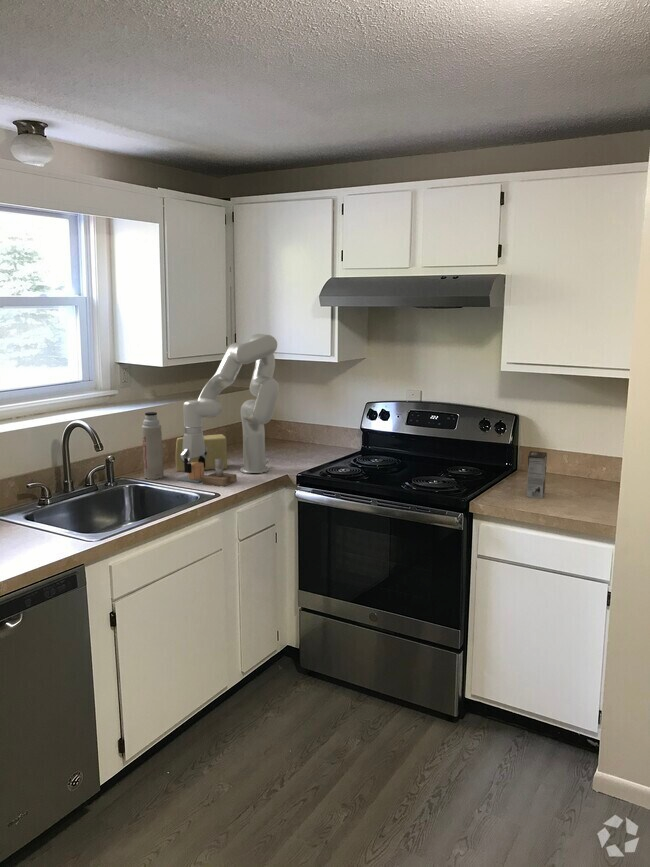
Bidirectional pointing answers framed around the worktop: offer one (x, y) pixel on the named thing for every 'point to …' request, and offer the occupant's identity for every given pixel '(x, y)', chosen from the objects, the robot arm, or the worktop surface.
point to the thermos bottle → (152, 447)
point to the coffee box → (536, 474)
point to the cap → (196, 470)
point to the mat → (190, 479)
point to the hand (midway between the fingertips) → (195, 470)
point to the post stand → (219, 475)
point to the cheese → (214, 451)
